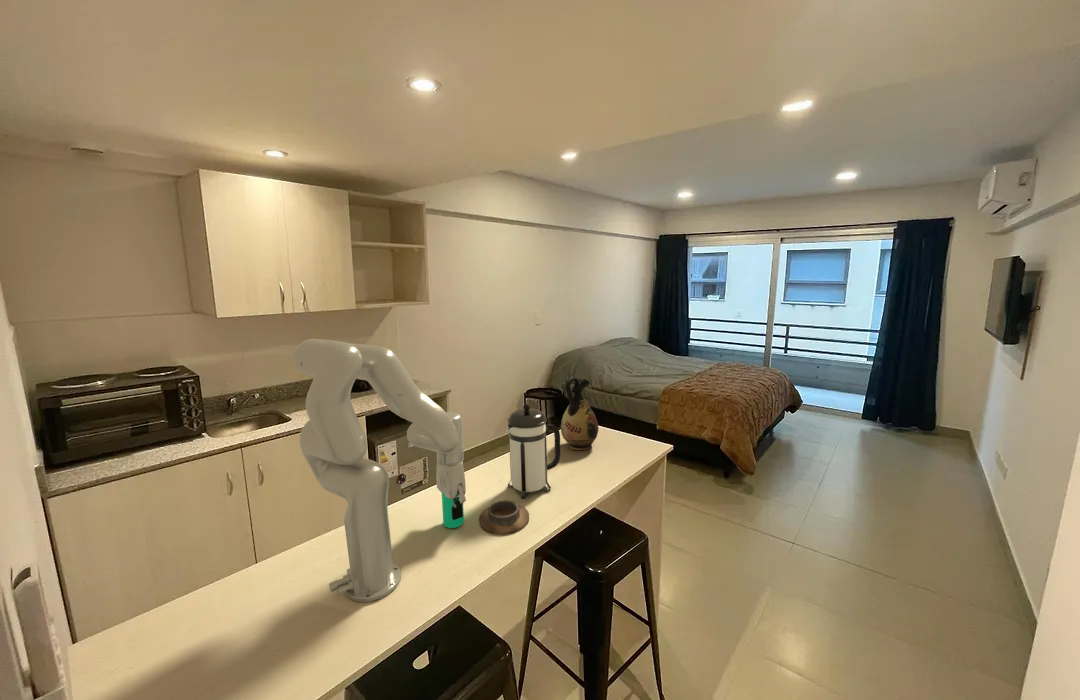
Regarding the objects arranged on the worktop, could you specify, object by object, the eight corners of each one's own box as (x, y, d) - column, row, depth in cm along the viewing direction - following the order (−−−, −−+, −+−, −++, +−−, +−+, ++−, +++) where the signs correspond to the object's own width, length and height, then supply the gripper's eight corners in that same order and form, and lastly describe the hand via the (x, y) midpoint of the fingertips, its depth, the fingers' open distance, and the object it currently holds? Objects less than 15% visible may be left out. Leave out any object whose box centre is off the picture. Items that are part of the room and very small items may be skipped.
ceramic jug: (579, 435, 192) (578, 369, 186) (605, 446, 180) (606, 376, 174) (550, 446, 181) (549, 377, 175) (576, 458, 169) (576, 384, 164)
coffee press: (546, 503, 138) (544, 413, 132) (500, 496, 143) (496, 409, 137) (561, 478, 154) (560, 397, 148) (519, 472, 159) (516, 393, 154)
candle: (439, 522, 128) (437, 484, 126) (455, 514, 133) (454, 477, 130) (451, 530, 124) (449, 491, 122) (468, 521, 129) (466, 484, 126)
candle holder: (496, 541, 120) (495, 530, 119) (469, 517, 131) (469, 507, 131) (539, 521, 129) (539, 510, 128) (510, 500, 140) (510, 490, 140)
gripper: (425, 449, 129) (429, 506, 132) (452, 469, 116) (455, 531, 119) (448, 443, 134) (451, 498, 137) (476, 461, 120) (479, 522, 124)
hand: (453, 513), depth 128 cm, fingers closed on candle, 4 cm apart
